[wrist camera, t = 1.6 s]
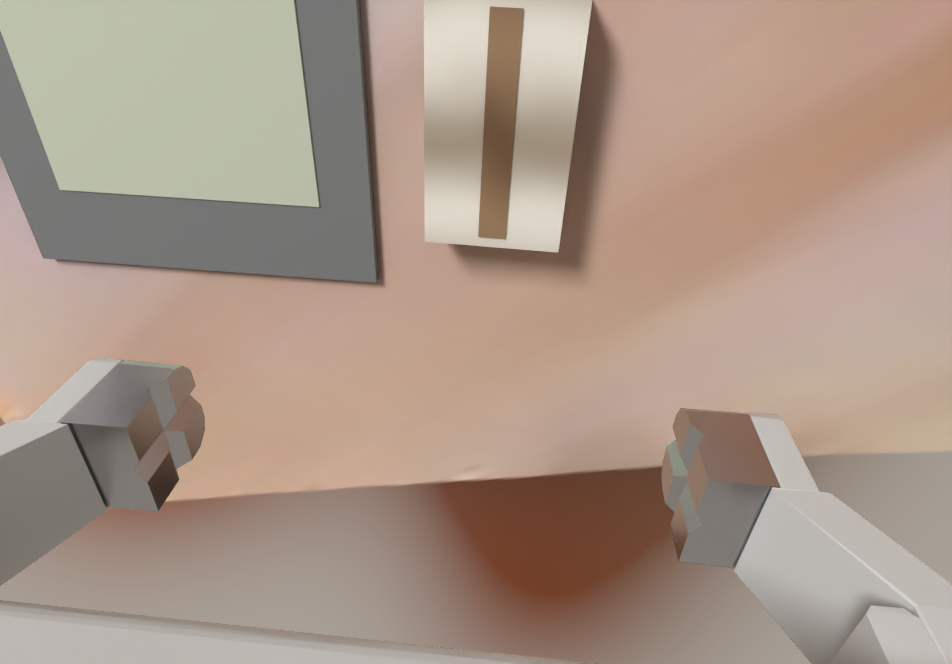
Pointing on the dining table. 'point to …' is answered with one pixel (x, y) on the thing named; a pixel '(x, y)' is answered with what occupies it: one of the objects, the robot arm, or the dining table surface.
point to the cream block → (500, 118)
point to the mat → (191, 133)
